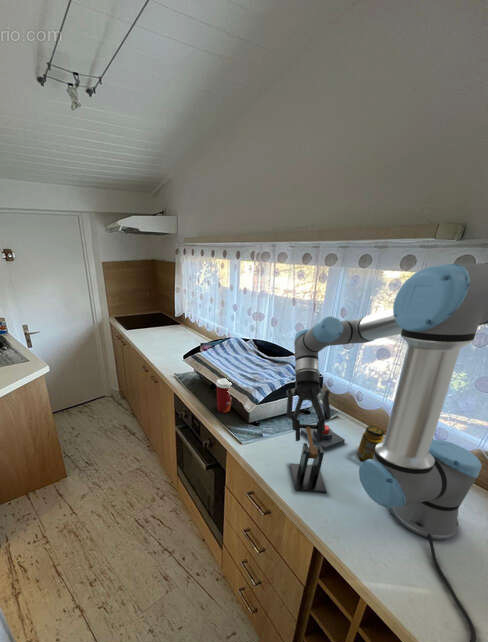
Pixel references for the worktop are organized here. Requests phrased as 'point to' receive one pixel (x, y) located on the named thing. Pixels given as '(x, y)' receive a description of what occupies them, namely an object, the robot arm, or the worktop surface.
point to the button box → (325, 438)
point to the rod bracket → (308, 472)
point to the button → (326, 430)
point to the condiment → (369, 442)
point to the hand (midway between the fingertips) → (308, 441)
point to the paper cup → (223, 395)
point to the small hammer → (310, 439)
